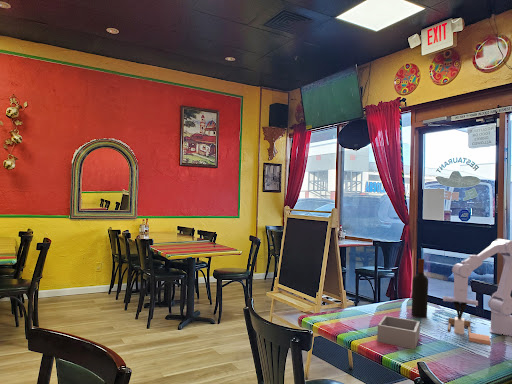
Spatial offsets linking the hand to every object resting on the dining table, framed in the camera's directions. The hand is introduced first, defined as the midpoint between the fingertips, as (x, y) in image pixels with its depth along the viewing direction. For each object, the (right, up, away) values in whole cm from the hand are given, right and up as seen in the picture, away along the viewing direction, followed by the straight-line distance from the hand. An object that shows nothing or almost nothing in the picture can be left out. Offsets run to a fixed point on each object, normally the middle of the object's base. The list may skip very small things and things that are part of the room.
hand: (459, 318), depth 186 cm
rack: (+2, -6, +3) cm, 7 cm away
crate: (-34, -4, -15) cm, 38 cm away
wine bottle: (-9, -6, +24) cm, 26 cm away
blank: (0, -6, 0) cm, 6 cm away
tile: (+3, -6, -11) cm, 13 cm away
